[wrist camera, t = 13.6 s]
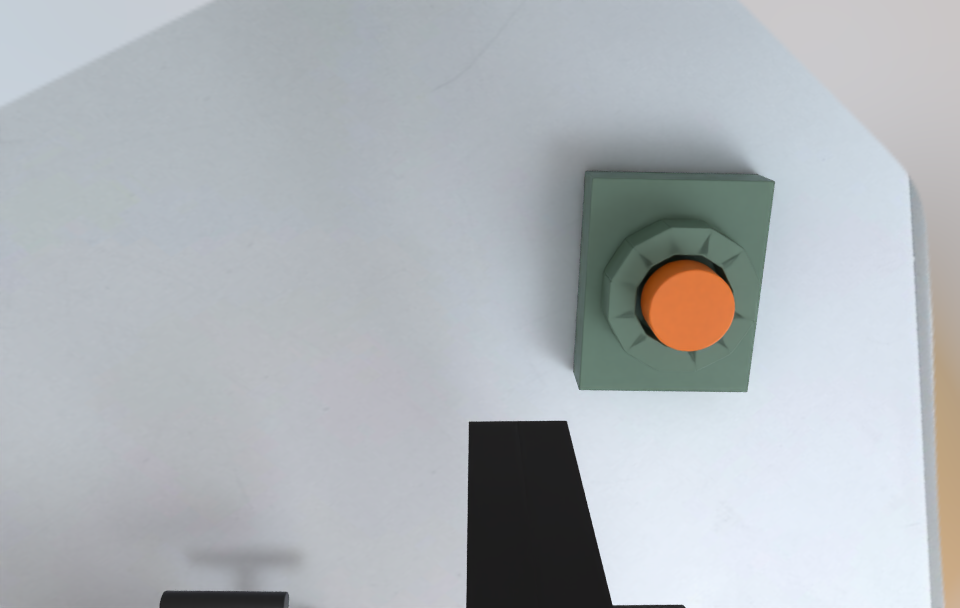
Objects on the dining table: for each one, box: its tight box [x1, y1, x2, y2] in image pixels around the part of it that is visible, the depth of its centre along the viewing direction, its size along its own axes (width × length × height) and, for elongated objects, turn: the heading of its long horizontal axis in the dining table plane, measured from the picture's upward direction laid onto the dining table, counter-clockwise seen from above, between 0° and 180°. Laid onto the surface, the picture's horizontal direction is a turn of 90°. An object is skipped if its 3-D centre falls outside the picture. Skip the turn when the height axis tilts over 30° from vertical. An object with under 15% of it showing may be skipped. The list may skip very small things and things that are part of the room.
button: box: [641, 260, 735, 351], centre depth 33 cm, size 4×4×2 cm
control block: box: [573, 171, 775, 392], centre depth 36 cm, size 10×8×4 cm
